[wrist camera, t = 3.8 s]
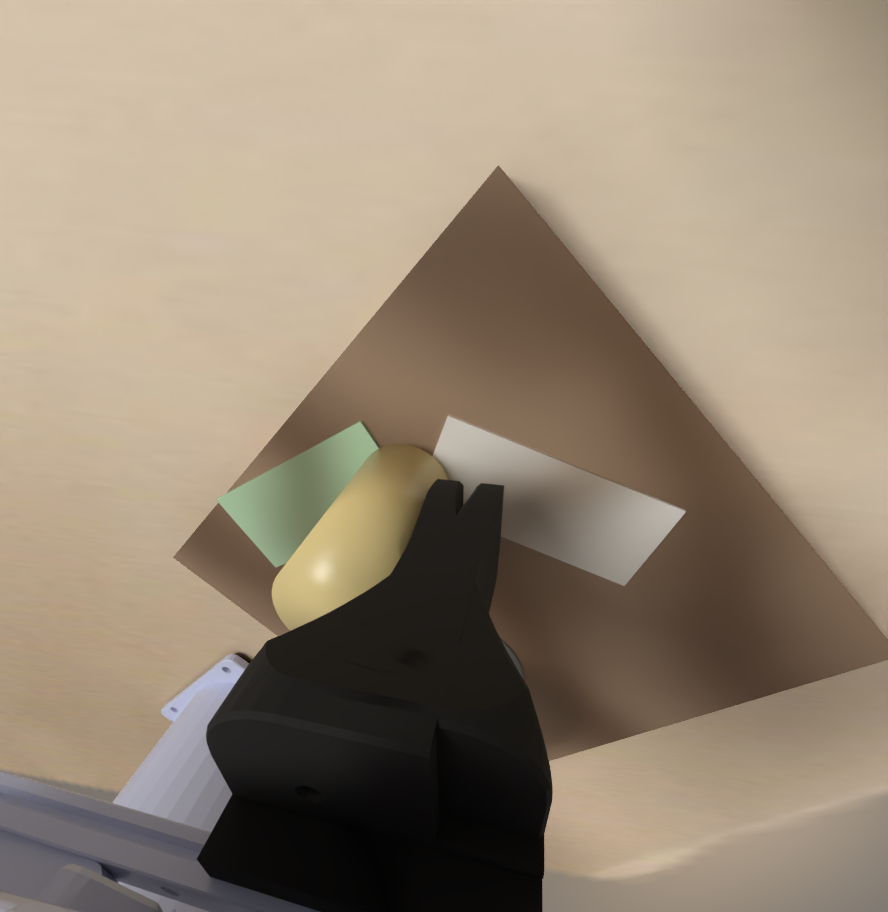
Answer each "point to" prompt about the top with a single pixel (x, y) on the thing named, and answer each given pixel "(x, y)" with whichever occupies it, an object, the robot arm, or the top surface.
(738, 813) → the top surface
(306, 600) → the peg lever
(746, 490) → the brown flat square board
